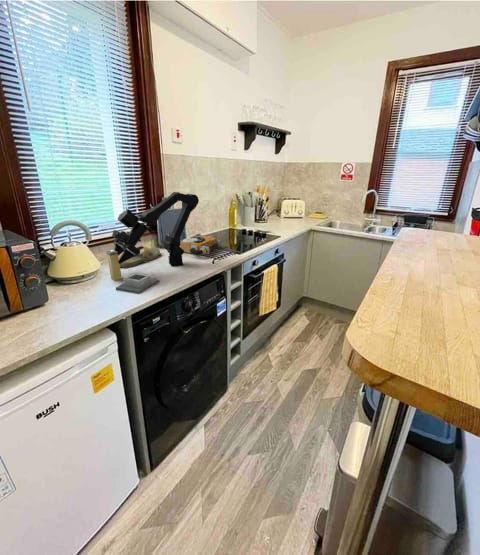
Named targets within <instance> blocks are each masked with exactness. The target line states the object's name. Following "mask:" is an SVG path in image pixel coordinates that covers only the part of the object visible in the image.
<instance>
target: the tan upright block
mask: <svg viewBox="0 0 480 555" xmlns="http://www.w3.org/2000/svg"><path fill="white" fill-rule="evenodd" d="M105 253H106V257H107V262H108V263H107V264H108V268H109V274H110V278H111V279H112V280H113V281H114V282H115V281H118V280H119V281H120V280H122V279H123V276H122V270H121V267H120V264H119V263H118V261H119V259H120V258H119V256H118V252H117V251H115V250H114V249H111V250H107V251H106V252H105Z"/></svg>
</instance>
